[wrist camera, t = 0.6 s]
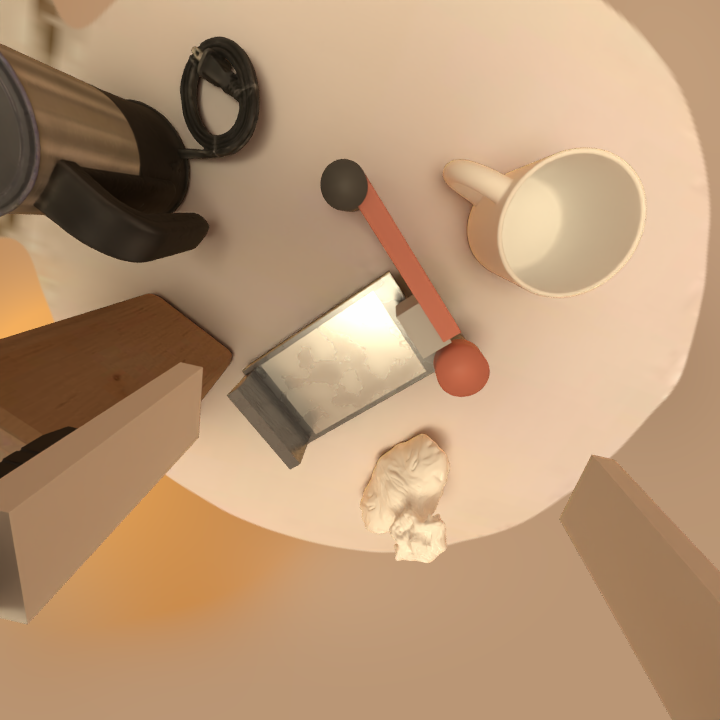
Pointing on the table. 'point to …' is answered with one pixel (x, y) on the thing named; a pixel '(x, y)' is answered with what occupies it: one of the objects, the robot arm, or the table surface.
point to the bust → (408, 498)
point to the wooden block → (95, 365)
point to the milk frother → (113, 152)
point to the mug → (553, 219)
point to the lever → (410, 285)
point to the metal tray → (331, 371)
